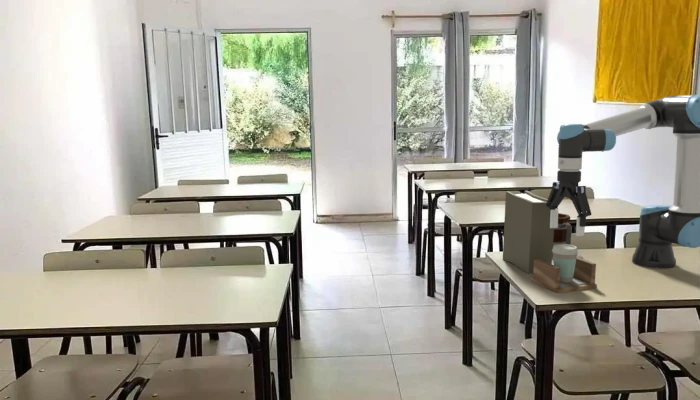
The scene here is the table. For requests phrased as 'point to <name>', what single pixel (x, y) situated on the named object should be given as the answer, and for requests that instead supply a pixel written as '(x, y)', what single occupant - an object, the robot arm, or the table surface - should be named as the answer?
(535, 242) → the book
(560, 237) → the mug
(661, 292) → the table surface
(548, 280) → the holder
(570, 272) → the coffee cup
